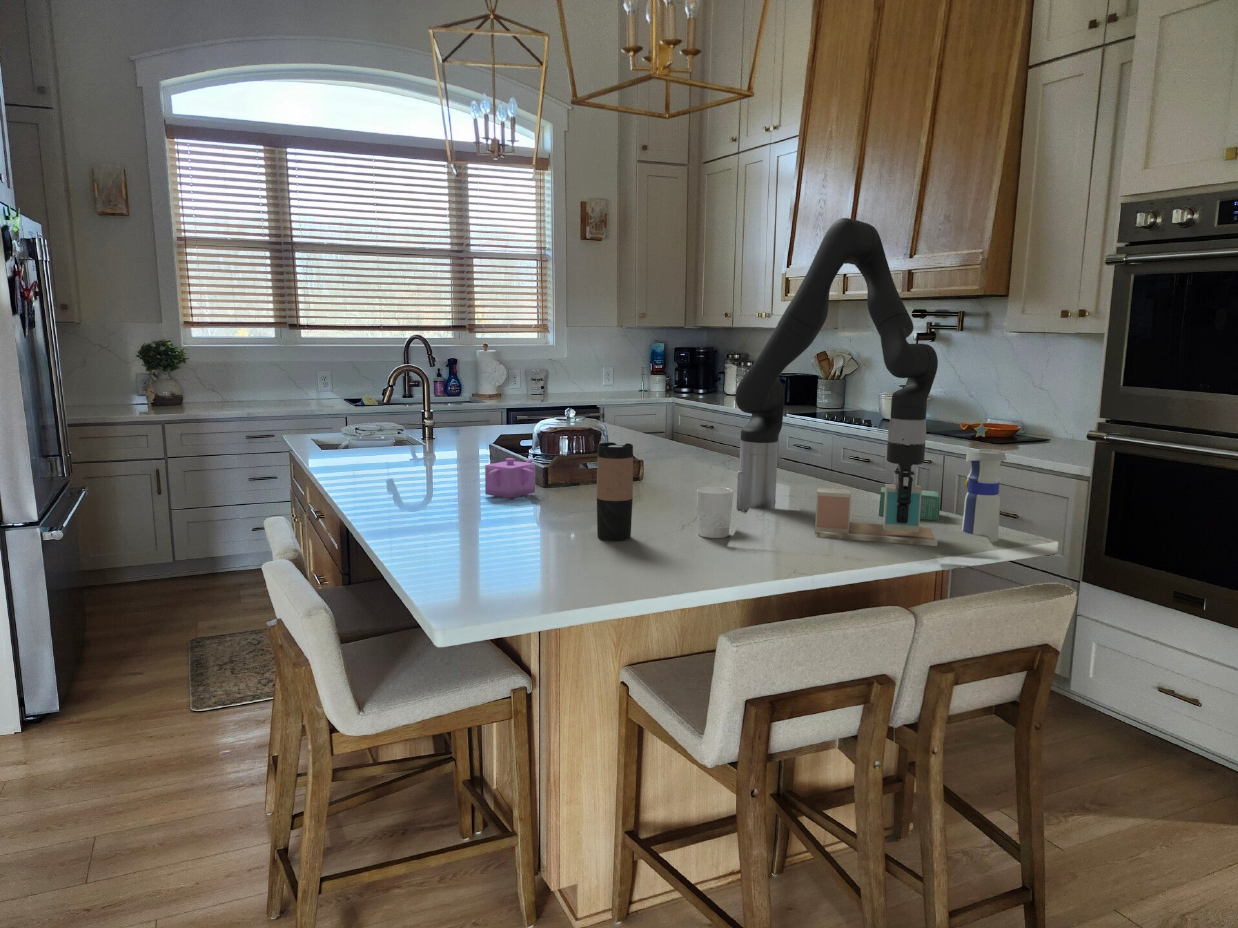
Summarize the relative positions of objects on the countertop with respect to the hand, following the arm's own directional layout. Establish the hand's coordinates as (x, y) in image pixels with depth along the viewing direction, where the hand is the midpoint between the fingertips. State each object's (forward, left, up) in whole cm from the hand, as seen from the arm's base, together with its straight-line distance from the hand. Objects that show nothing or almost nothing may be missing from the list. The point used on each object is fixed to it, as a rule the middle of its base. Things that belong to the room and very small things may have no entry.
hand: (901, 519), depth 183 cm
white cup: (-39, -5, -5) cm, 40 cm away
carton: (0, 0, -2) cm, 2 cm away
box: (+3, +24, -6) cm, 25 cm away
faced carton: (-14, 0, -4) cm, 14 cm away
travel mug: (-59, -14, -5) cm, 61 cm away
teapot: (-96, +21, -6) cm, 98 cm away
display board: (-5, +3, -5) cm, 8 cm away
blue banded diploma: (+17, +11, -5) cm, 21 cm away
